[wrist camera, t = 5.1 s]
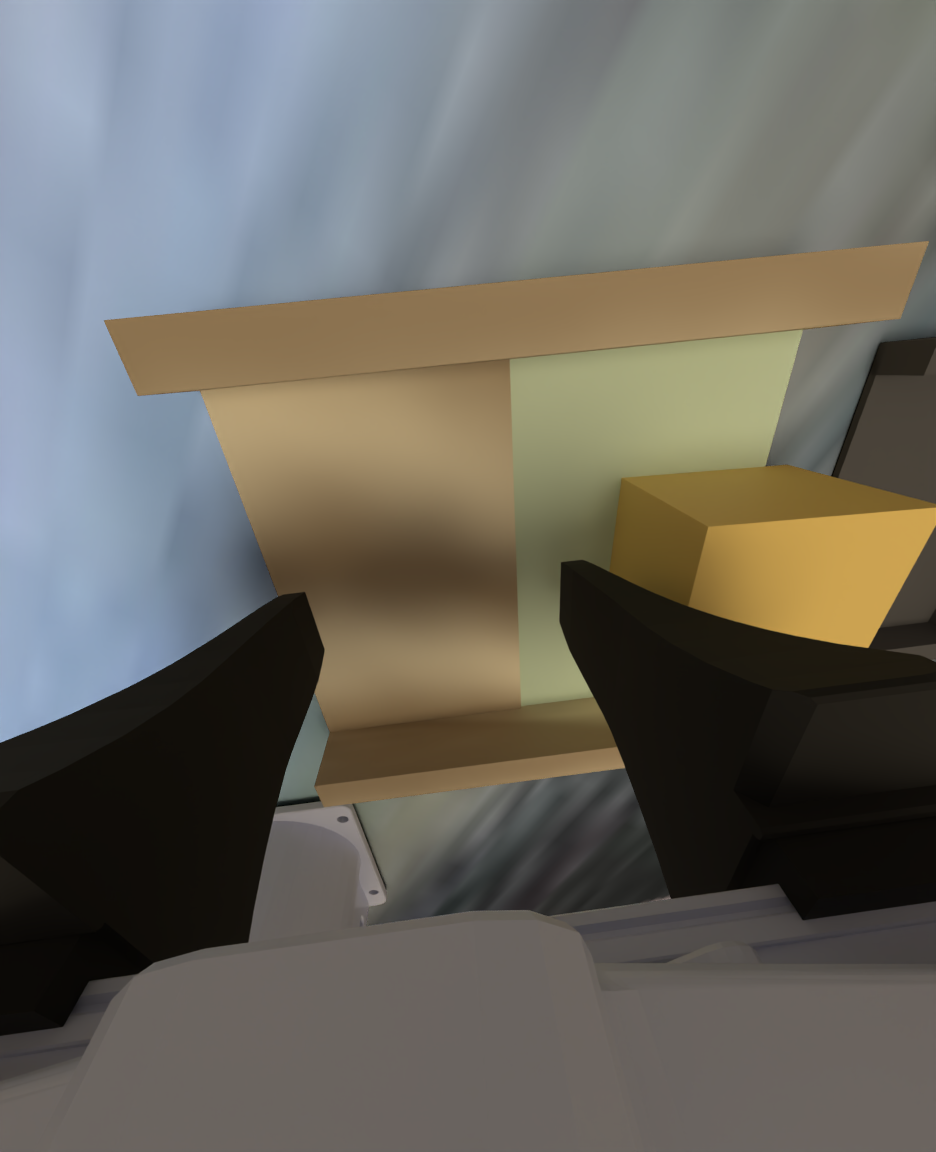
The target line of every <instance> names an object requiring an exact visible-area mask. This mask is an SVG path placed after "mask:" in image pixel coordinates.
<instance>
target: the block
mask: <svg viewBox="0 0 936 1152" xmlns="http://www.w3.org/2000/svg"><path fill="white" fill-rule="evenodd" d="M935 526H936V504H934V503H930V502H926V501H923V500H919V499H915V498H911V497H907V496H904V495H900V494H896V493H892V492H888V491H885V490H881V489H877V488H873V487H870V486H866V485H862V484H858V483H854V482H851V481H847V480H843V479H839V478H835V477H832V476H828V475H824V474H820V473H816V472H813V471H809V470H805V469H801V468H798V467H794V466H790V465H778V466H765V467H753V468H740V469H727V470H714V471H702V472H689V473H676V474H664V475H651V476H638V477H625V478H622V479H621V487H620V494H619V502H618V509H617V517H616V524H615V532H614V540H613V547H612V555H611V562H610V570H609V572H611V573H613V574H615V575H617V576H619V577H621V578H623V579H625V580H627V581H629V582H631V583H634V584H636V585H638V586H640V587H642V588H644V589H647V590H649V591H651V592H653V593H656V594H658V595H660V596H663V597H665V598H668V599H670V600H673V601H675V602H678V603H680V604H683V605H686V606H688V607H691V608H694V609H697V610H700V611H703V612H706V613H709V614H712V615H715V616H719V617H722V618H725V619H729V620H732V621H736V622H740V623H744V624H748V625H751V626H755V627H759V628H763V629H767V630H771V631H776V632H780V633H785V634H790V635H794V636H799V637H805V638H810V639H815V640H821V641H826V642H831V643H837V644H843V645H850V646H858V647H865V648H868V647H869V646H870V644H871V642H872V640H873V638H874V637H875V635H876V633H877V631H878V629H879V628H880V626H881V624H882V622H883V620H884V618H885V617H886V615H887V613H888V611H889V609H890V608H891V606H892V604H893V602H894V600H895V598H896V597H897V595H898V593H899V591H900V589H901V588H902V586H903V584H904V582H905V580H906V578H907V577H908V575H909V573H910V571H911V569H912V568H913V566H914V564H915V562H916V560H917V559H918V557H919V555H920V553H921V551H922V549H923V548H924V546H925V544H926V542H927V540H928V539H929V537H930V535H931V533H932V531H933V529H934V528H935Z"/></svg>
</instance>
